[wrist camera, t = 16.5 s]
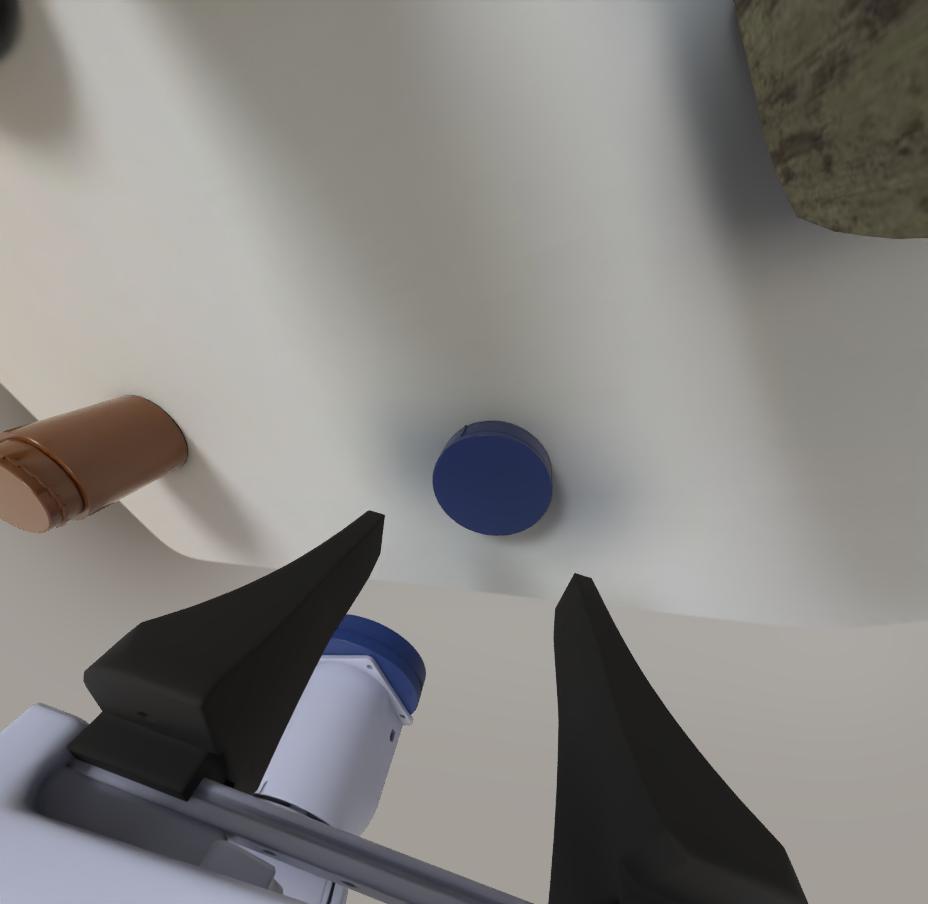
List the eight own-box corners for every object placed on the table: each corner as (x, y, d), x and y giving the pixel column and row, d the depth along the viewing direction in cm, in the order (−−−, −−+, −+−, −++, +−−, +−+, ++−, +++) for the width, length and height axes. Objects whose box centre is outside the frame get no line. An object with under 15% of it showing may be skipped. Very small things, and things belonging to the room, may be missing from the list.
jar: (203, 460, 22) (76, 530, 16) (153, 475, 24) (21, 544, 18) (147, 384, 20) (-21, 433, 14) (97, 407, 22) (-73, 459, 16)
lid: (420, 446, 18) (409, 461, 17) (518, 399, 16) (516, 412, 14) (474, 528, 20) (469, 547, 19) (569, 496, 18) (572, 516, 16)
